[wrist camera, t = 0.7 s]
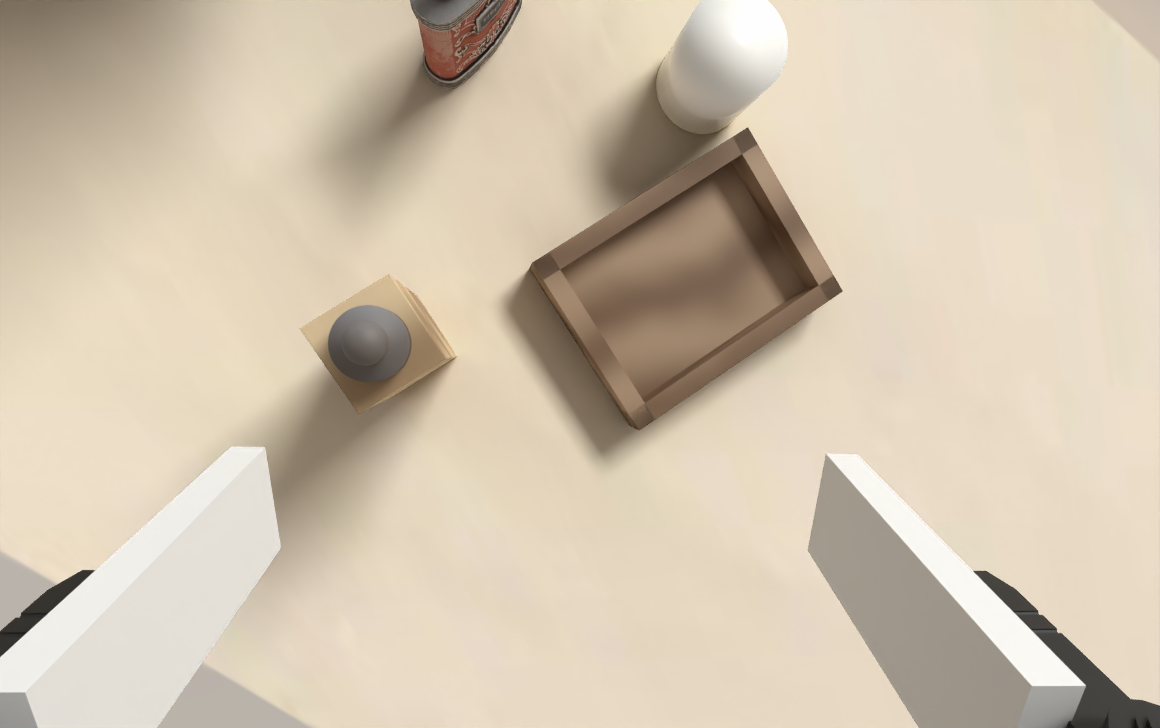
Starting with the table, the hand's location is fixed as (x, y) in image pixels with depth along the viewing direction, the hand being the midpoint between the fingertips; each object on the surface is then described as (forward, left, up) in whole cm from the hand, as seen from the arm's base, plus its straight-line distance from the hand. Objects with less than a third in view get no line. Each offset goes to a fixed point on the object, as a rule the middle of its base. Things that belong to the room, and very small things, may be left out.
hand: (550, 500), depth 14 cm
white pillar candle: (-11, +22, -24) cm, 34 cm away
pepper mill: (-7, -3, -24) cm, 25 cm away
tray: (-1, +14, -24) cm, 28 cm away
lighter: (-21, +11, -24) cm, 34 cm away
